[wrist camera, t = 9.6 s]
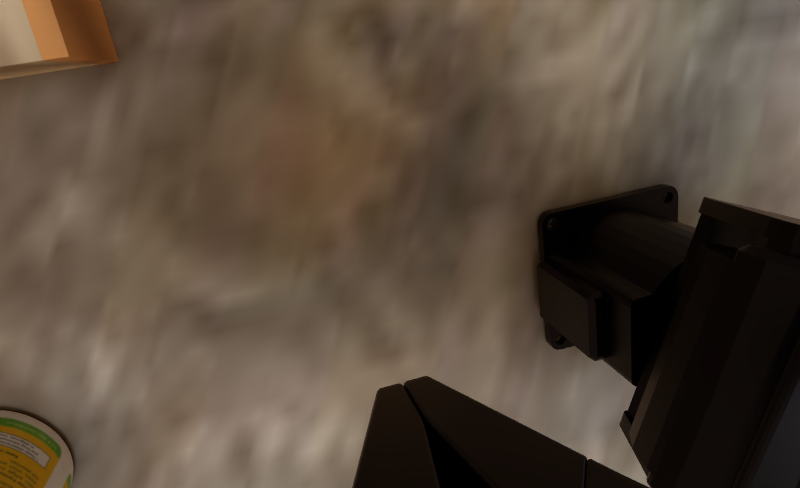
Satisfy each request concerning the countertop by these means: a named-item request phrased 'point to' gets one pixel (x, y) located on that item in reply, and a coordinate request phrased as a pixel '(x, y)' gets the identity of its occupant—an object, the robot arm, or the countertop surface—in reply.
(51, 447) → the supplement bottle
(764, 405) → the robot arm
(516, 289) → the countertop surface
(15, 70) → the birch block
